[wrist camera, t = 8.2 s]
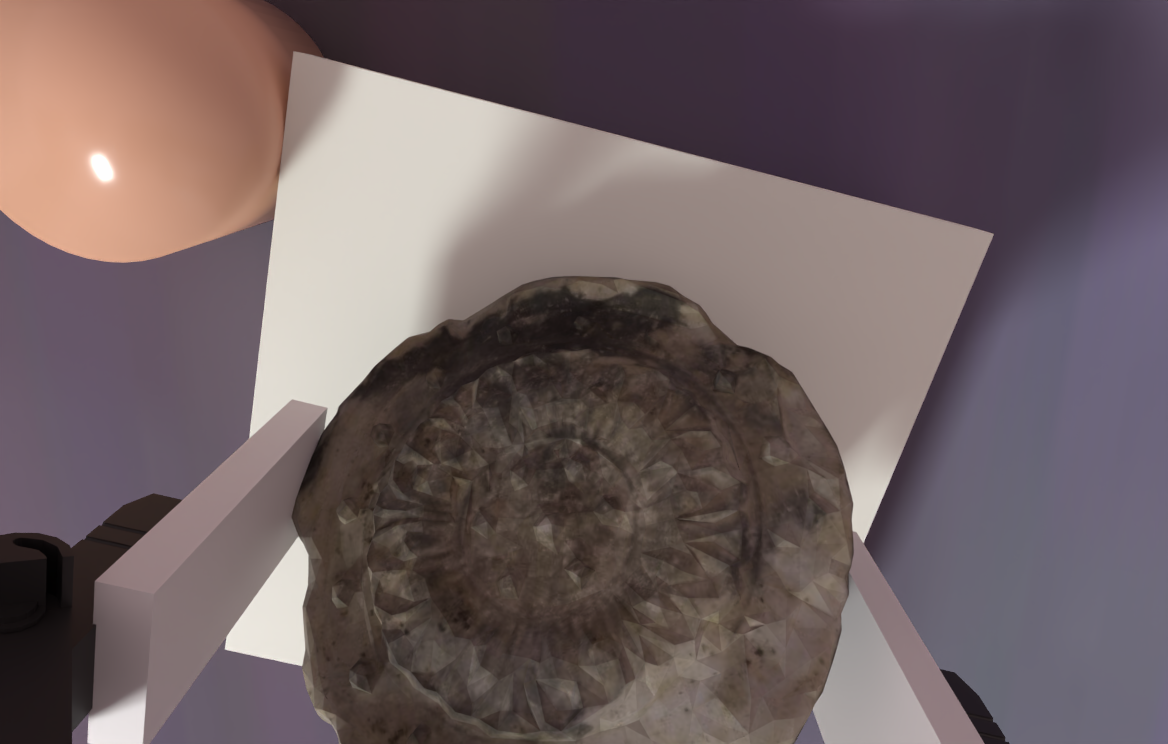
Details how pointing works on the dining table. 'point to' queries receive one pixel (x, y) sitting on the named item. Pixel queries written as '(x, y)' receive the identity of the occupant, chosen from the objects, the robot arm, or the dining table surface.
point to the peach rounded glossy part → (142, 120)
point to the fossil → (574, 532)
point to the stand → (578, 265)
